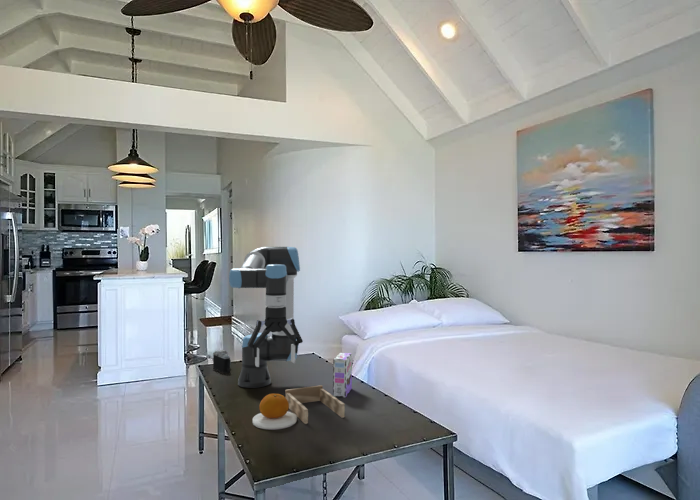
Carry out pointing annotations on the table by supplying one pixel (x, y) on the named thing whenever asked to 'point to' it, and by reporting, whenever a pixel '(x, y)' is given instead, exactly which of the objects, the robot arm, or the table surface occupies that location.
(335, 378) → the candy box
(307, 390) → the oak open frame
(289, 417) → the plate
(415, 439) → the table surface
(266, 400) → the fruit
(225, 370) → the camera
